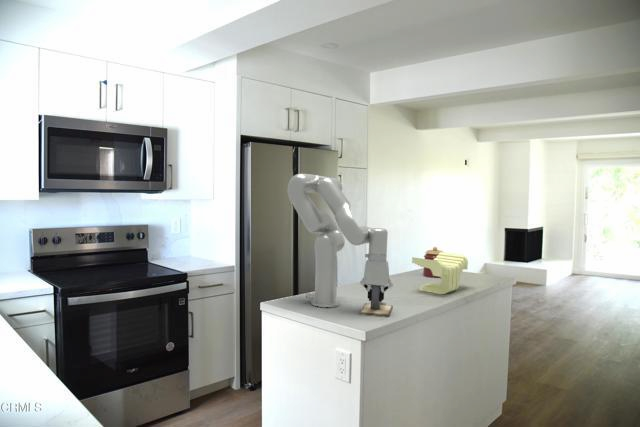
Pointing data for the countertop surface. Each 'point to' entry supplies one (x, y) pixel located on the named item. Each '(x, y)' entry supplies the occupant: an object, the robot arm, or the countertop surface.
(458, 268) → the slatted curved stool
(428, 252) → the canister
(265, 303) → the countertop surface
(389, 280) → the robot arm
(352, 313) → the countertop surface
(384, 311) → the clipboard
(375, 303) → the marker
